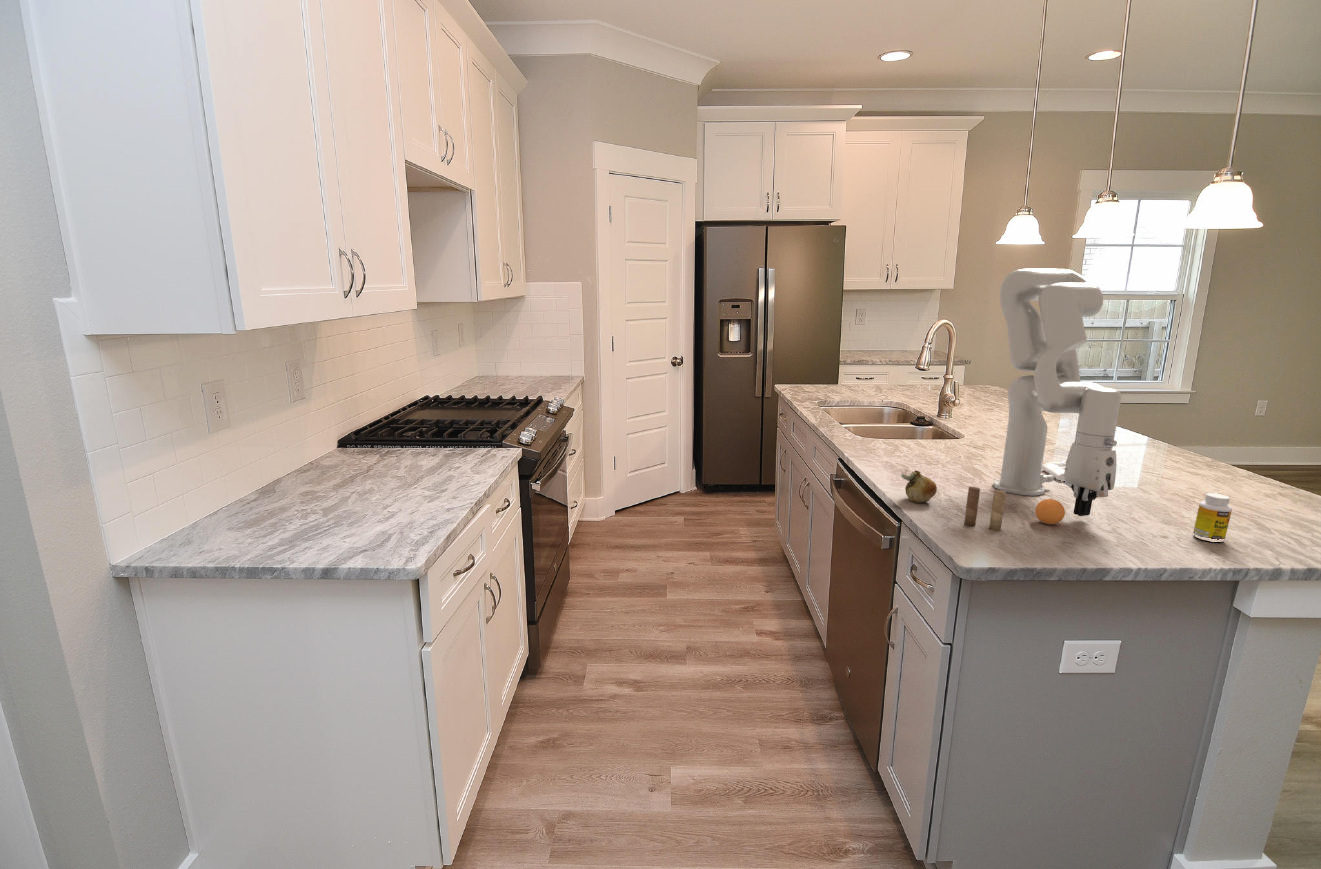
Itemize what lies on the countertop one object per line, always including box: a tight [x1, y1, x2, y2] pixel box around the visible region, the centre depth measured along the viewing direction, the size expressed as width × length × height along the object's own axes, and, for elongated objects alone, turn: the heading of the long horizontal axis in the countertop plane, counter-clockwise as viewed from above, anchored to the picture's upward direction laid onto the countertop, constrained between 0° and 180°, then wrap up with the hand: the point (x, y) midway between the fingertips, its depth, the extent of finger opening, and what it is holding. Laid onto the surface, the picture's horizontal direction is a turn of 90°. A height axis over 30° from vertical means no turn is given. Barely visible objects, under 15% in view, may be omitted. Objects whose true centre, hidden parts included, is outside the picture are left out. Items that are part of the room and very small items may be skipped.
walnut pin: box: [963, 486, 981, 528], centre depth 150 cm, size 2×2×9 cm
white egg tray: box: [1042, 459, 1067, 481], centre depth 191 cm, size 3×18×15 cm
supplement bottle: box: [1192, 492, 1233, 540], centre depth 144 cm, size 6×6×10 cm
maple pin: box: [988, 489, 1007, 532], centre depth 148 cm, size 2×2×9 cm
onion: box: [901, 469, 938, 504], centre depth 167 cm, size 8×8×8 cm
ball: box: [1034, 498, 1066, 525], centre depth 152 cm, size 6×6×6 cm
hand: (1081, 514), depth 155 cm, fingers closed
